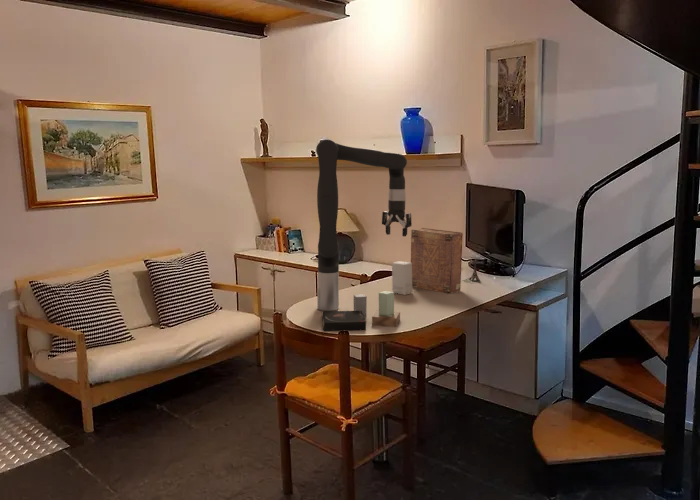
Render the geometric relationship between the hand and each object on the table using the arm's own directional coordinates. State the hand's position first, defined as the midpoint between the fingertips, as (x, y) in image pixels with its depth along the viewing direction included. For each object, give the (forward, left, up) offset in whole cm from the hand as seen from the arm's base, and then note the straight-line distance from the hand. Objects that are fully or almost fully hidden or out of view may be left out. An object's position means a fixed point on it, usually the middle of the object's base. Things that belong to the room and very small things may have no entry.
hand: (396, 235), depth 270 cm
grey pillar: (-15, -16, -33) cm, 40 cm away
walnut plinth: (-3, -25, -34) cm, 42 cm away
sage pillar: (-3, -25, -29) cm, 39 cm away
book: (+20, +39, -33) cm, 55 cm away
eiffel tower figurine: (+42, +59, -34) cm, 80 cm away
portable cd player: (-21, -30, -34) cm, 50 cm away
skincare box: (+3, +27, -33) cm, 43 cm away
